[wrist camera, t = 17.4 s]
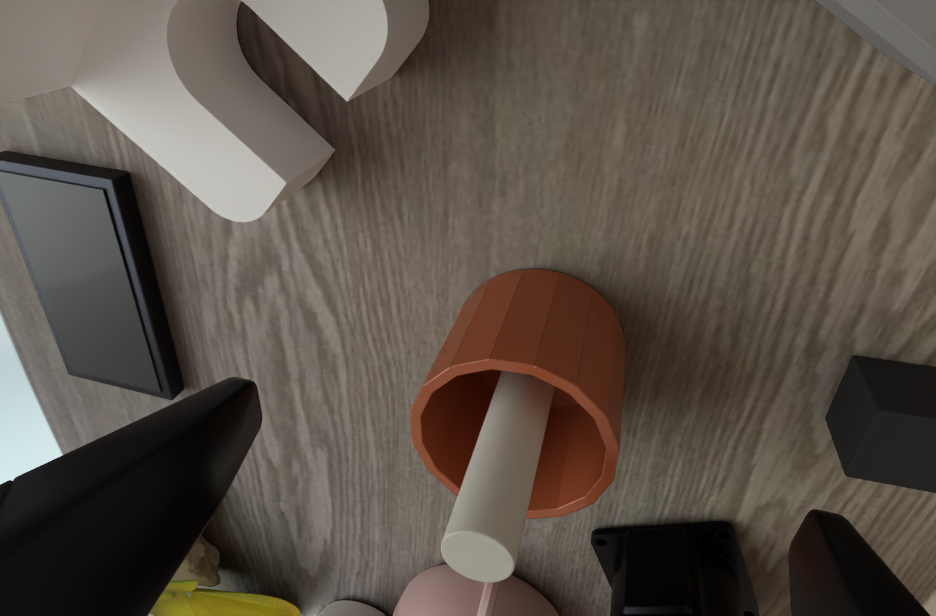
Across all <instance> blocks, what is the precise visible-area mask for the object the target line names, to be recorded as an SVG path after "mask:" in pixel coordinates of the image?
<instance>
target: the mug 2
mask: <svg viewBox="0 0 936 616" xmlns="http://www.w3.org/2000/svg"><path fill="white" fill-rule="evenodd" d="M393 616H559V615H558V613H557V612H556V610H555V609H554V607H553V606H552V604H551V603H550V602H549V601H548V600H547V599H546V598H545V597H544V596H543V595H542V594H541V593H540V592H538V591H537V590H536V589H534V588H533V587H532V586H530V585H529V584H528V583H526V582H524V581H522V580H520V579H519V578H517V577H515V576H513V575H510V576H509V577H508V578H506V579H504V580H502V581H498V582H481V581H476V580H473V579H470V578H467V577H465V576H463V575H461V574H459V573H458V572H456V571H455V570H454V569H452V568H451V567H450V566H449V565H448V564H443V565H439V566H434V567H431V568H429V569H427V570H425V571H423V572H421V573H420V574H418V575H417V576H416V577H415V578H414V579H412V580H411V581H410V582H409V584H408V585H407V587H406V589H405V590H404V592H403V594H402V596H401V597H400V599H399V601H398V604H397V606H396V608H395V610H394V613H393Z"/></svg>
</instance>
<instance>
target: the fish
mask: <svg viewBox="0 0 936 616" xmlns="http://www.w3.org/2000/svg"><path fill="white" fill-rule="evenodd" d="M197 583H198V580H180V581H170V582H169V584H168V585H167V587H166V588H165V590H164V592H163V593H162V595H161V596H160V598H159V599H158V601H157V602H156V604H155V605H154V607H153V608H152V610H151V611H150V613H151V614H153V615H154V616H299V615H300V611H299V609H298V608H297V607H296V606H294V605H293V604H292V603H290V602H288V601H285V600H283V599H281V598H277V597H272V596H267V595H262V594H253V593H242V592H230V591H221V590H212V589H204V588H196V586H197Z"/></svg>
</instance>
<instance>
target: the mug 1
mask: <svg viewBox="0 0 936 616" xmlns="http://www.w3.org/2000/svg"><path fill="white" fill-rule="evenodd" d="M317 616H386V615H385V614H383V613H382V612H380V611H379V610H377V609H375V608H373V607H371V606H369V605H366V604H363V603H360V602H356V601H347V600H343V601H336V602H333V603H331V604H330V605H328V606H327V607H326V608H325V609H324V610H322V611H321V612H320V613H319V614H318V615H317Z"/></svg>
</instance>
